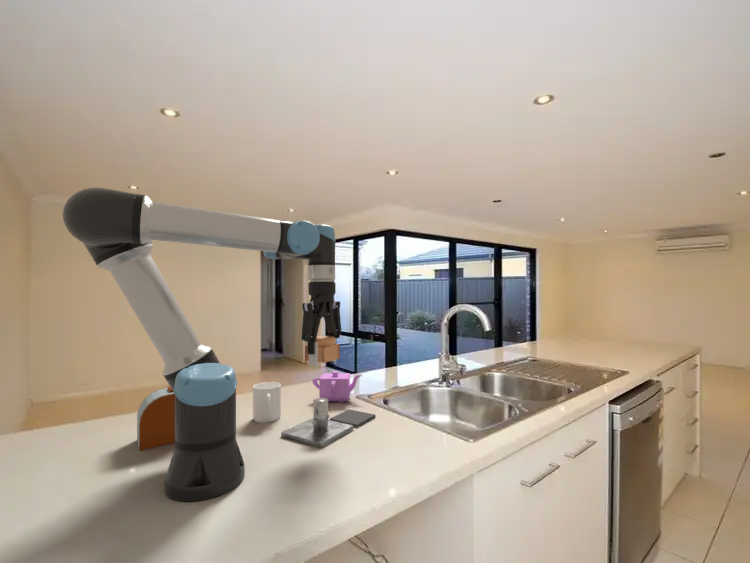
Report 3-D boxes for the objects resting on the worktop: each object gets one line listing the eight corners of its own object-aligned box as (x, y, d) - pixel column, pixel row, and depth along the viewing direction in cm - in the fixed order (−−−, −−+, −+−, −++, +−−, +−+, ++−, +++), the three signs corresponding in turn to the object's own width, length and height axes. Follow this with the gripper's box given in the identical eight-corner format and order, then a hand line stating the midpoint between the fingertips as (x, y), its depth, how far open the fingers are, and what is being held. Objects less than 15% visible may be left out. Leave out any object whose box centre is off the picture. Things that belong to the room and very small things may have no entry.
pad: (357, 427, 107) (357, 424, 107) (329, 421, 113) (329, 418, 113) (375, 417, 116) (375, 414, 116) (349, 411, 121) (349, 409, 121)
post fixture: (321, 447, 94) (321, 411, 94) (281, 436, 101) (281, 402, 101) (353, 429, 106) (353, 397, 106) (315, 420, 113) (315, 390, 113)
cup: (279, 412, 121) (279, 381, 121) (283, 425, 110) (283, 390, 110) (252, 415, 118) (252, 383, 118) (253, 429, 107) (253, 393, 107)
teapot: (363, 394, 140) (363, 367, 141) (361, 406, 127) (361, 376, 127) (315, 395, 141) (315, 368, 141) (308, 406, 127) (308, 376, 127)
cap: (304, 360, 103) (304, 338, 103) (321, 356, 108) (320, 335, 109) (324, 362, 99) (324, 340, 99) (340, 358, 105) (340, 336, 105)
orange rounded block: (197, 427, 108) (197, 380, 109) (203, 436, 101) (203, 386, 102) (136, 439, 100) (137, 388, 100) (139, 450, 93) (139, 396, 93)
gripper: (307, 280, 94) (308, 372, 93) (353, 281, 110) (354, 358, 110) (286, 281, 98) (286, 369, 97) (333, 281, 114) (334, 356, 114)
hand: (322, 363), depth 104 cm, fingers closed on cap, 7 cm apart
